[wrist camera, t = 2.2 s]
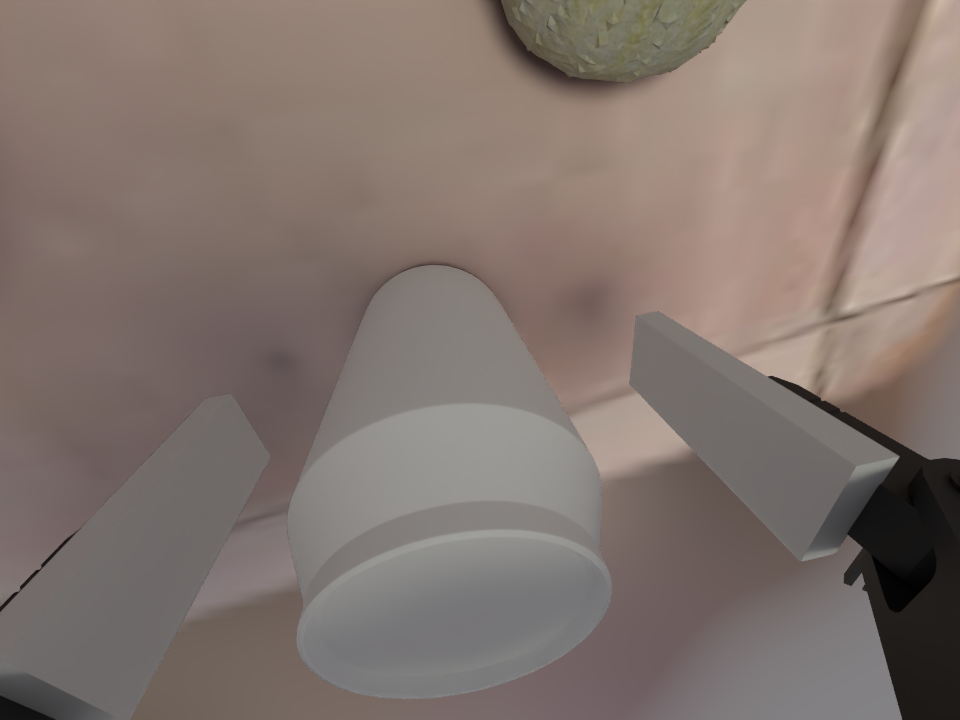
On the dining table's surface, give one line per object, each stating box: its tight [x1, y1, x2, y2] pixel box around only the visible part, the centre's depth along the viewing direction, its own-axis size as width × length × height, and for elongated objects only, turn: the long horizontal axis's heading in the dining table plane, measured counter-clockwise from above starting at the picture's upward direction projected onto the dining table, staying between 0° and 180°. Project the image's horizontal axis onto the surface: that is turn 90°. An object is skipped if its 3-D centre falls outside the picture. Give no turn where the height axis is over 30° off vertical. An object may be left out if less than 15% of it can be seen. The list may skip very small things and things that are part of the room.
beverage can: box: [287, 265, 612, 699], centre depth 11 cm, size 6×6×12 cm
